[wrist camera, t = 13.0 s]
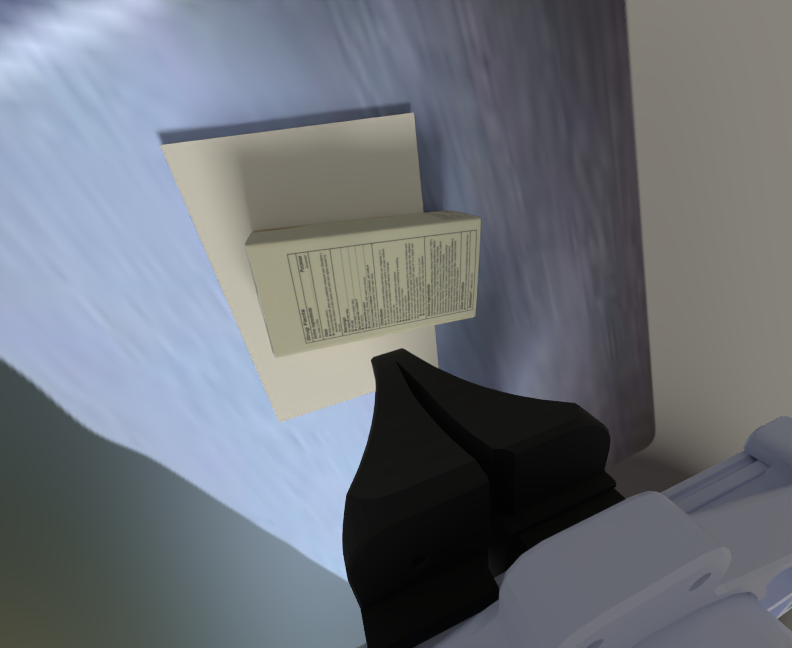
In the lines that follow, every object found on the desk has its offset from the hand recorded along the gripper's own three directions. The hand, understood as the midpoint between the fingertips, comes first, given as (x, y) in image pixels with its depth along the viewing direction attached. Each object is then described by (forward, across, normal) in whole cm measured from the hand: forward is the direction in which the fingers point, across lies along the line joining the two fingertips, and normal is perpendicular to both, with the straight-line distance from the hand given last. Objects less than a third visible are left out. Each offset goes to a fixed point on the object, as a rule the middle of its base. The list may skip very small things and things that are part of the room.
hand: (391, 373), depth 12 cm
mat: (+10, +1, -1) cm, 10 cm away
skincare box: (+8, -8, -1) cm, 11 cm away
